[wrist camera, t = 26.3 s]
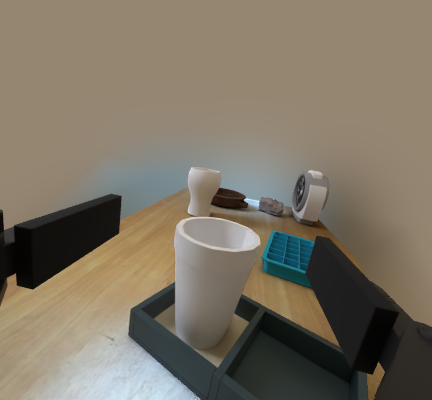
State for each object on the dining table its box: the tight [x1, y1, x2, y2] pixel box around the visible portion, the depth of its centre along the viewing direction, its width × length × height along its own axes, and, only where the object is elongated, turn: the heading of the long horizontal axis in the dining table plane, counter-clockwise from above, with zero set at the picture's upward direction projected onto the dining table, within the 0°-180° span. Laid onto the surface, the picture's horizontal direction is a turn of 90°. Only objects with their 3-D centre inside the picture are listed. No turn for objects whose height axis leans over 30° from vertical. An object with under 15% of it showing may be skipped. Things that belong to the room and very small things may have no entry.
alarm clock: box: [292, 170, 329, 225], centre depth 89 cm, size 18×8×20 cm, turn 174°
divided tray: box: [128, 282, 368, 400], centre depth 25 cm, size 23×12×4 cm, turn 57°
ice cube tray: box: [262, 231, 315, 287], centre depth 52 cm, size 12×20×3 cm, turn 159°
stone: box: [259, 198, 283, 216], centre depth 92 cm, size 8×10×6 cm
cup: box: [188, 167, 221, 217], centre depth 74 cm, size 11×11×15 cm
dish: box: [211, 188, 248, 208], centre depth 94 cm, size 18×22×5 cm
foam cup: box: [174, 217, 260, 349], centre depth 26 cm, size 10×9×13 cm
